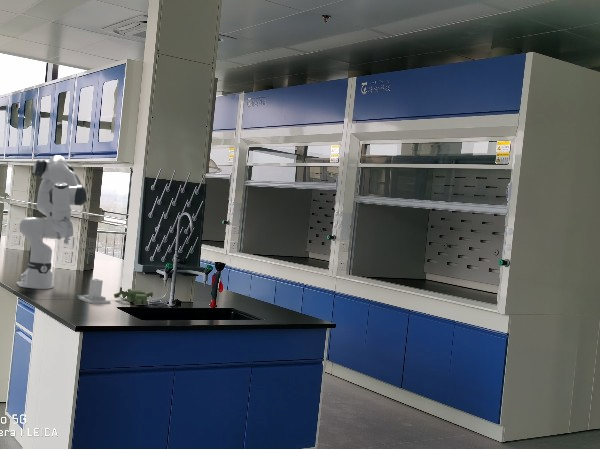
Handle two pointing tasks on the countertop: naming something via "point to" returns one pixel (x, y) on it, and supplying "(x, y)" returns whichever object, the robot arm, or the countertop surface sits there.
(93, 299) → the outlet plate
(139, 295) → the toy
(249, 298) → the countertop surface
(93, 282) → the charger
